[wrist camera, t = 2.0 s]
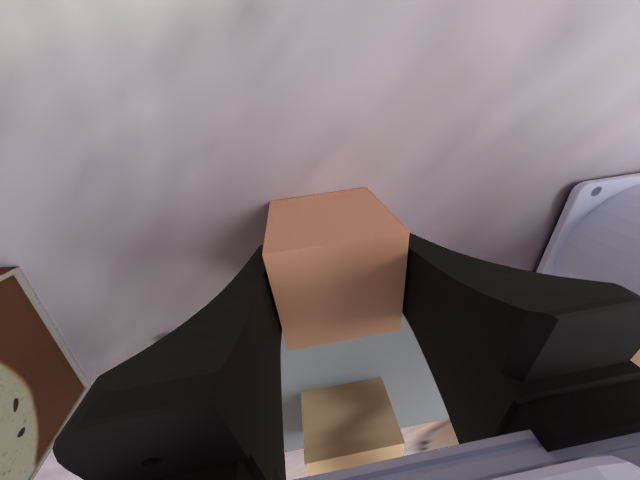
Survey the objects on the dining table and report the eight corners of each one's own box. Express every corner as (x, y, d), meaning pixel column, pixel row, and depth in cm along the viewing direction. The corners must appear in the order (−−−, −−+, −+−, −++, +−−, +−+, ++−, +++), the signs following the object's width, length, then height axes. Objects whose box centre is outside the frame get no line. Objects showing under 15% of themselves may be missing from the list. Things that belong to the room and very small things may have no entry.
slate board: (486, 280, 15) (496, 289, 15) (446, 408, 23) (451, 417, 23) (164, 336, 14) (158, 348, 13) (239, 450, 22) (237, 461, 21)
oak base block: (381, 376, 18) (404, 443, 14) (379, 416, 21) (398, 479, 17) (300, 392, 17) (304, 464, 14) (311, 430, 20) (316, 497, 17)
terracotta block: (366, 187, 11) (409, 231, 7) (367, 264, 13) (400, 330, 10) (270, 201, 11) (262, 254, 7) (287, 278, 13) (288, 350, 9)
